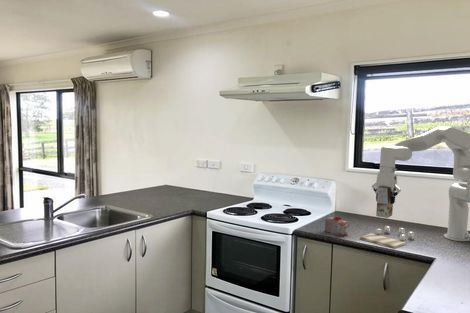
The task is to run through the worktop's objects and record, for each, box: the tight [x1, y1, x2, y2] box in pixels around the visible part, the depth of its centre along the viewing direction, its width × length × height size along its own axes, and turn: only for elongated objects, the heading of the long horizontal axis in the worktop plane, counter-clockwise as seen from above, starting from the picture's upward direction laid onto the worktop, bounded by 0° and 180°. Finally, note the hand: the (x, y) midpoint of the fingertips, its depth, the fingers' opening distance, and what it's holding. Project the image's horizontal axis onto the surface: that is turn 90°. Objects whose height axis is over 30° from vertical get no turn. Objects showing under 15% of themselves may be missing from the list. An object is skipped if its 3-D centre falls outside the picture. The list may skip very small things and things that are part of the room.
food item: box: [324, 216, 350, 237], centre depth 224 cm, size 14×8×10 cm, turn 40°
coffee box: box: [375, 186, 394, 219], centre depth 209 cm, size 9×6×16 cm
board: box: [359, 233, 407, 249], centre depth 211 cm, size 20×12×1 cm, turn 40°
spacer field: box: [375, 225, 415, 243], centre depth 220 cm, size 17×16×4 cm
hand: (385, 202), depth 209 cm, fingers closed on coffee box, 7 cm apart
